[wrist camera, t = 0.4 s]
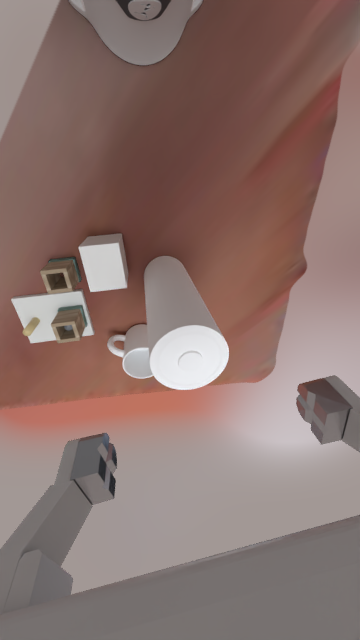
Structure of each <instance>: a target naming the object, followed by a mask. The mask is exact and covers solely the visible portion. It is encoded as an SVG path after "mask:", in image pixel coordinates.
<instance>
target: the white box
mask: <svg viewBox="0 0 360 640" xmlns="http://www.w3.org/2000/svg"><path fill="white" fill-rule="evenodd" d="M79 251H80V255H81V258H82V262H83V266H84V270H85V273H86V277H87V281H88V285H89V288H90V292H96V291H104V290H113V289H121V288H127V282H128V267H127V261H126V255H125V250H124V244H123V238H122V233H120V234H110V235H100V236H89V237H87V238H86V239H85V240H84V241H83V243H82V244H81V245H80V246H79Z"/></svg>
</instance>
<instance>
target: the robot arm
mask: <svg viewBox="0 0 360 640" xmlns="http://www.w3.org/2000/svg"><path fill="white" fill-rule="evenodd" d="M68 1H69V2H70V4H71V5H72V6H73V7H74V8H75V9H76V10H77V11H78V12H79V13H81V14H82V15H83V16H84V17H86V18H87V19H88V20H89V21H90V23H91V24H92V25H93V27H94V28H95V30H96V32H97V33H98V35H99V36H100V38H101V39H102V41H103V42H104V43H105V44H106V46H107V47H108V48H109V49H110V50H111V51H112V52H113V53H114V54H116V55H117V56H118V57H120V58H121V59H123V60H125V61H127V62H129V63H132V64H136V65H150V64H154V63H157V62H159V61H161V60H162V59H164V58H165V57H166V56H167V55H168V54H170V52H171V51H172V50H173V49H174V48H175V46H176V45H177V43H178V41H179V39H180V37H181V35H182V32H183V30H184V28H185V25H186V23H187V21H188V19H189V18H190V17H191V16H192V15H193V14H194V13H195V12H196V11H197V9H198V8H199V7H200V6H201V4H202V2H203V0H68ZM297 391H298V392H299V393H300V395H299V396H298V397H297V402H296V404H297V407H298V411H299V413H300V415H301V416H302V418H303V419H304V420H305V421H306V422H309V423H310V424H311V431H312V432H313V433H314V435H315V436H316V437H317V439H318V440H319V442H320V443H321V444H325V443H330V442H334V441H339V440H342V441H343V442H345V443H346V444H348V445H349V446H351V447H353V448H354V449H356V450H357V451H359V452H360V398H359V397H358V396H357V395H356V394H355V393H354V392H353V391H352V390H351V389H350V388H349V387H348V386H347V385H346V384H345V383H344V382H343V381H341V380H340V379H339V378H338V377H337V376H330V377H326V378H322V379H317V380H313V381H309V382H305V383H302V384H299V385H298V389H297ZM116 468H117V457H116V450H115V447H114V446H113V444H111V443H109V436H108V434H107V433H102V434H98V435H93V436H89V437H85V438H80V439H76V440H71V441H68V443H67V444H66V446H65V448H64V452H63V456H62V459H61V463H60V466H59V470H58V474H57V477H56V481H55V484H54V485H52V486H50V487H49V488H48V490H47V491H46V492H45V493H44V495H43V496H42V497H41V499H40V500H39V501H38V502H37V504H36V505H35V506H34V507H33V509H32V510H31V511H30V512H29V514H28V515H27V516H26V518H25V519H24V520H23V521H22V523H21V524H20V525H19V526H18V528H17V529H16V530H15V531H14V533H13V534H12V535H11V536H10V538H9V539H8V540H7V541H6V543H5V544H4V545H3V547H2V548H1V549H0V640H360V515H358V516H354V517H350V518H347V519H343V520H340V521H336V522H332V523H329V524H325V525H321V526H318V527H314V528H311V529H307V530H303V531H300V532H296V533H292V534H289V535H285V536H282V537H278V538H274V539H271V540H267V541H264V542H260V543H256V544H253V545H249V546H245V547H242V548H238V549H235V550H231V551H227V552H224V553H220V554H217V555H213V556H209V557H206V558H202V559H198V560H195V561H191V562H188V563H184V564H180V565H177V566H173V567H169V568H166V569H162V570H159V571H155V572H152V573H148V574H144V575H141V576H137V577H134V578H130V579H126V580H123V581H119V582H115V583H112V584H108V585H105V586H101V587H98V588H94V589H90V590H86V591H83V592H79V593H75V594H72V595H71V589H72V583H73V578H72V577H71V575H70V574H69V573H67V572H66V571H65V570H64V569H63V568H61V565H62V563H63V561H64V559H65V558H66V555H67V554H68V552H69V550H70V548H71V546H72V544H73V542H74V541H75V539H76V537H77V535H78V533H79V531H80V529H81V527H82V525H83V523H84V522H85V520H86V518H87V516H88V514H89V512H90V510H91V508H92V505H94V504H97V503H101V502H104V501H108V500H111V499H114V494H115V483H116V480H115V478H114V476H113V473H114V472H115V470H116Z"/></svg>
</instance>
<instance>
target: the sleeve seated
mask: <svg viewBox="0 0 360 640" xmlns="http://www.w3.org/2000/svg"><path fill="white" fill-rule="evenodd" d="M57 311H58V313H57V315H56V316H55V318H54V320H53V321H52V323H51V327H52V329H53V332H54V334H55V337H56V340H57V342H58V343H63V342H70V341H78V340H81V337H82V335H83V332H84V329H85V327H87V325H88V323H87V320H86V316H85V313H84V309H83V306H82V305H76V306H68V307H60V308H59V309H58V310H57ZM66 325H72V327H73V328H72V330H70V331H68V330H66V329H65V328H64V326H66Z"/></svg>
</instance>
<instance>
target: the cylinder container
mask: <svg viewBox="0 0 360 640" xmlns="http://www.w3.org/2000/svg"><path fill="white" fill-rule="evenodd" d="M144 287H145V301H146V315H147V330H148V344H149V359H150V368H151V371H152V373H153V375H154V377H155V378H156V379H157V380H158V381H159V382H160V383H162V384H163V385H165V386H167V387H170V388H173V389H178V390H189V389H195V388H199V387H202V386H204V385H206V384H208V383H210V382H212V381H213V380H214V379H216V378H217V377H218V376H219V375H220V374H221V373H222V371H223V370H224V368H225V366H226V364H227V361H228V357H229V349H228V345H227V343H226V341H225V339H224V337H223V335H222V333H221V332H220V330H219V328H218V326H217V325H216V323H215V321H214V319H213V317H212V316H211V314H210V312H209V310H208V309H207V307H206V305H205V303H204V301H203V300H202V298H201V296H200V294H199V292H198V291H197V289H196V287H195V285H194V284H193V282H192V280H191V278H190V276H189V275H188V273H187V271H186V269H185V267H184V266H183V264H182V263H181V262H180V261H179V260H178V259H176V258H174V257H171V256H160V257H157V258H155V259H153V260H152V261H151V262H150V263H149V264H148V265H147V267H146V269H145V272H144Z"/></svg>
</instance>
